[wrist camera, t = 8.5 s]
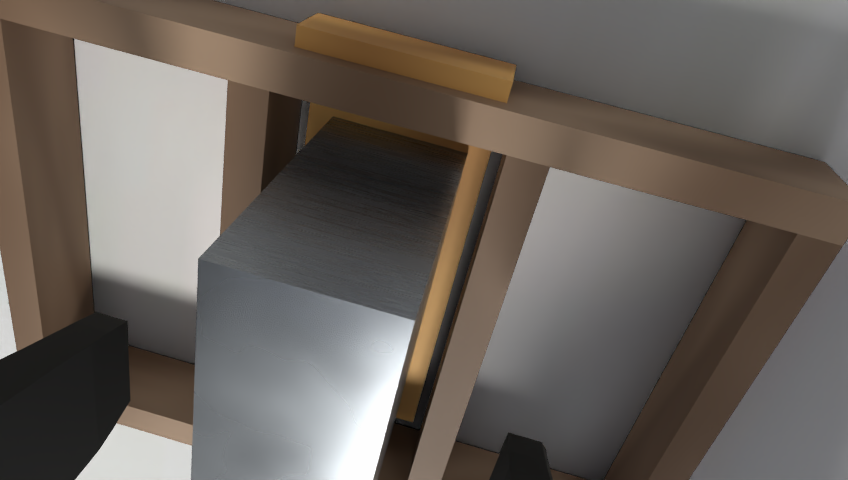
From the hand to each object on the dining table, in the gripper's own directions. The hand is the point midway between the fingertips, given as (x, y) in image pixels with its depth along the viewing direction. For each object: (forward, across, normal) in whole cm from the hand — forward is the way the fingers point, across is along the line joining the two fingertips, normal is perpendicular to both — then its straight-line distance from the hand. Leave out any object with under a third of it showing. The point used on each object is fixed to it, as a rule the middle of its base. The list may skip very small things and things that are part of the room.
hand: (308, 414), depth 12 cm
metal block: (+4, 0, 0) cm, 5 cm away
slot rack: (+5, 0, 0) cm, 5 cm away
